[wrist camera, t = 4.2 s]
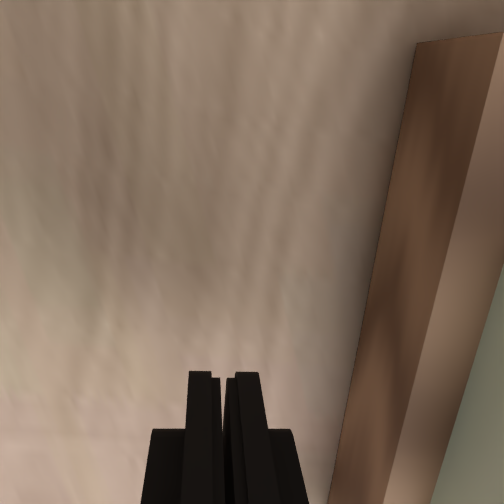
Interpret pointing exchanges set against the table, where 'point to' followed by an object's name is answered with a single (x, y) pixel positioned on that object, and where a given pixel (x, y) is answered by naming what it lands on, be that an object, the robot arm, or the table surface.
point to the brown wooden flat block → (428, 276)
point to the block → (479, 423)
